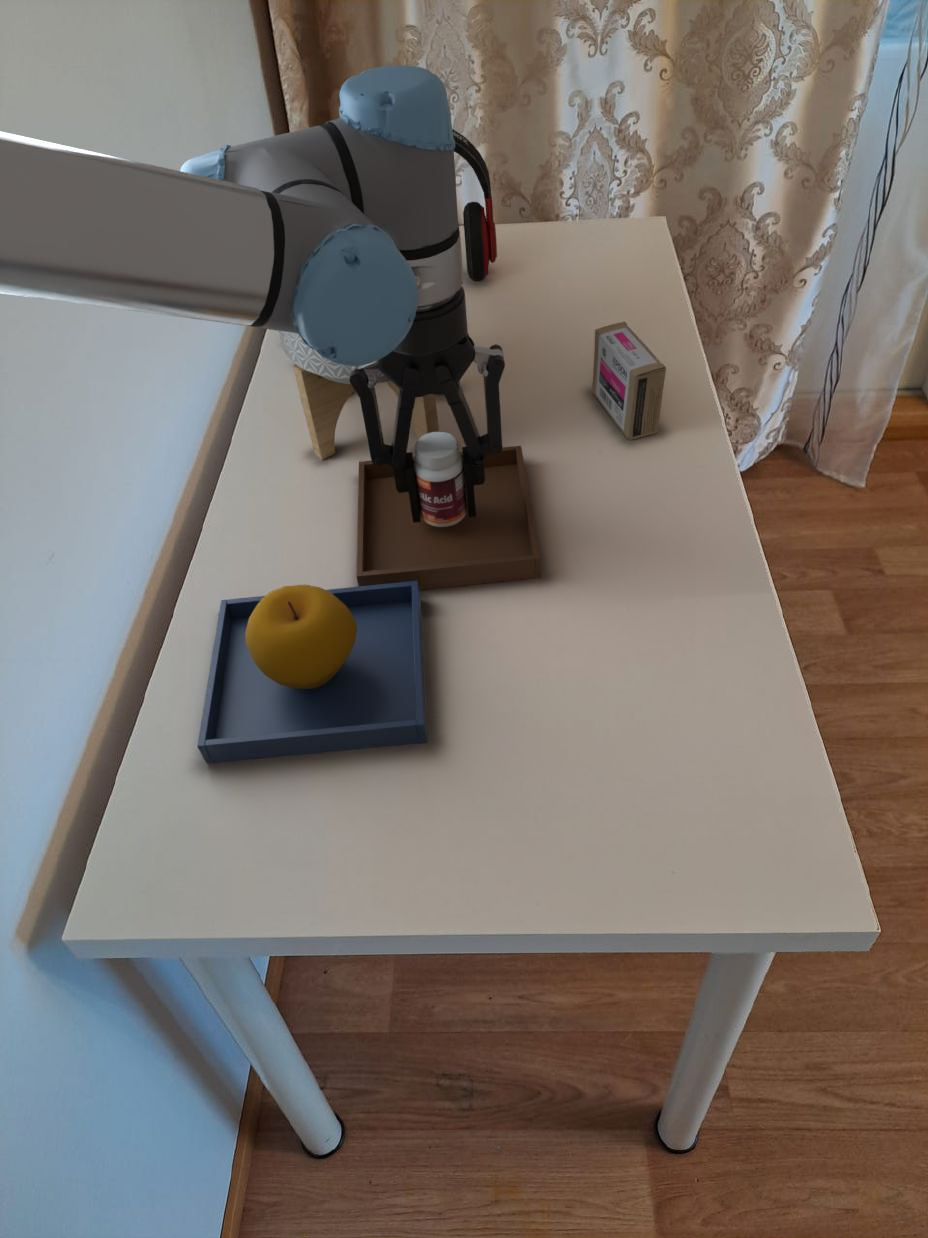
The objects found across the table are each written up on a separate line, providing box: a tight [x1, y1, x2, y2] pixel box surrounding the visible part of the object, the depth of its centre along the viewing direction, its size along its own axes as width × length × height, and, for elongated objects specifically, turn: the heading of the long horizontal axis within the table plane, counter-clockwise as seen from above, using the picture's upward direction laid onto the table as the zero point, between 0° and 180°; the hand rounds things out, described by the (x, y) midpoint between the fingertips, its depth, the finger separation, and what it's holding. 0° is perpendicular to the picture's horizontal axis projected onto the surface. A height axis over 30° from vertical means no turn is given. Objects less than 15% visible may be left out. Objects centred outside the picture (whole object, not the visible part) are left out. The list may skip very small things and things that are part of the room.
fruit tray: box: [197, 581, 428, 765], centre depth 78 cm, size 18×16×3 cm
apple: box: [245, 584, 357, 689], centre depth 76 cm, size 9×9×9 cm
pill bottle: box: [414, 431, 467, 527], centre depth 87 cm, size 5×5×8 cm
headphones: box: [452, 128, 498, 282], centre depth 118 cm, size 18×10×20 cm, turn 92°
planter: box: [278, 331, 444, 461], centre depth 95 cm, size 19×19×26 cm
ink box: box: [591, 321, 667, 441], centre depth 99 cm, size 10×4×8 cm, turn 18°
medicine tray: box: [355, 445, 542, 591], centre depth 90 cm, size 17×17×3 cm
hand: (443, 510), depth 90 cm, fingers closed on pill bottle, 5 cm apart
